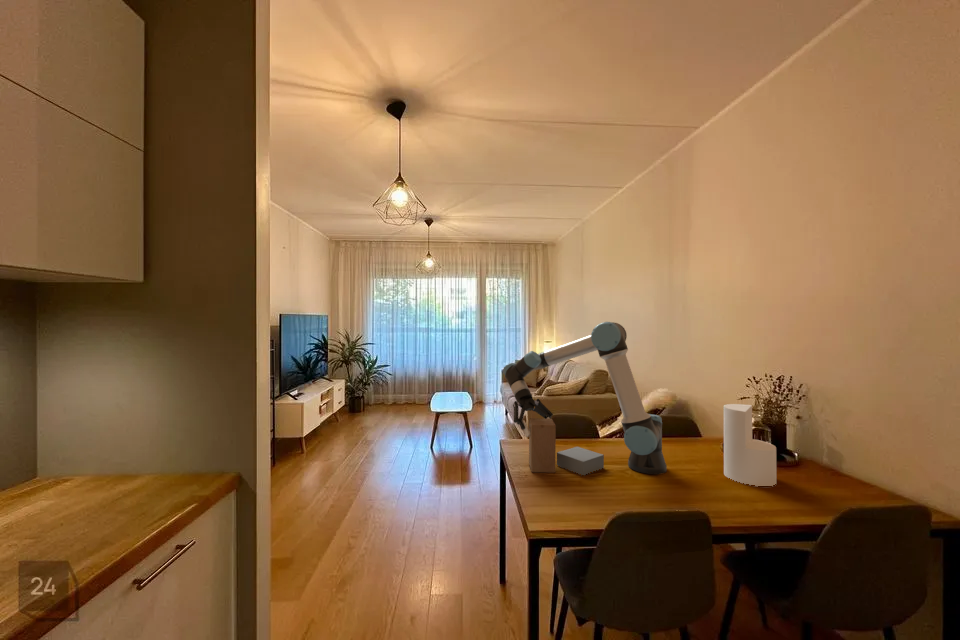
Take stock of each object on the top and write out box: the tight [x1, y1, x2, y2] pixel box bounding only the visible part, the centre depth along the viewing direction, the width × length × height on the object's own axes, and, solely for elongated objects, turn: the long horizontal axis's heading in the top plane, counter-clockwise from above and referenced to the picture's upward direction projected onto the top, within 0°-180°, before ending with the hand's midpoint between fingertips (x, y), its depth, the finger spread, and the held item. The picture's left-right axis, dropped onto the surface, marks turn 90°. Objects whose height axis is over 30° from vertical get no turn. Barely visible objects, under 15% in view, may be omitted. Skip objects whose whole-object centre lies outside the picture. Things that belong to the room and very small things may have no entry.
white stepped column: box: [723, 403, 777, 487], centre depth 152 cm, size 17×17×28 cm
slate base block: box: [556, 446, 605, 476], centre depth 163 cm, size 14×14×6 cm
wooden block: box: [528, 418, 557, 474], centre depth 160 cm, size 10×10×20 cm
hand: (541, 433), depth 161 cm, fingers closed on wooden block, 12 cm apart
